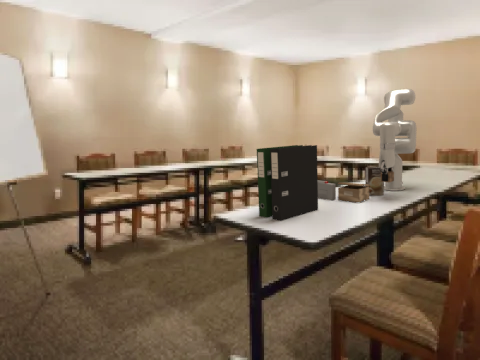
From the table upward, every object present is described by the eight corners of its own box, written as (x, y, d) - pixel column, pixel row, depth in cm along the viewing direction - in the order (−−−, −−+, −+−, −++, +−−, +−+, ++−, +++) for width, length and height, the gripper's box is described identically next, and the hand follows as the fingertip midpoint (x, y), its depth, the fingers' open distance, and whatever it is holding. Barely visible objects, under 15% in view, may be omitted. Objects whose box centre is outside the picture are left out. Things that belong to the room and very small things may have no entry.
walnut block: (384, 180, 196) (384, 171, 195) (393, 180, 192) (394, 171, 191) (380, 181, 192) (380, 172, 191) (389, 182, 189) (390, 173, 188)
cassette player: (335, 199, 198) (335, 182, 196) (332, 200, 196) (332, 182, 195) (315, 196, 211) (315, 179, 209) (312, 196, 209) (311, 180, 208)
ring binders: (297, 206, 186) (296, 145, 182) (320, 210, 175) (319, 145, 170) (259, 216, 169) (256, 148, 165) (281, 221, 158) (279, 149, 153)
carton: (349, 196, 204) (349, 184, 203) (369, 198, 195) (369, 186, 194) (338, 200, 196) (338, 187, 195) (358, 202, 187) (358, 189, 186)
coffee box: (367, 195, 204) (367, 168, 202) (364, 193, 210) (365, 166, 208) (384, 195, 203) (384, 167, 201) (381, 193, 209) (381, 166, 207)
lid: (348, 184, 203) (349, 182, 203) (369, 185, 194) (369, 184, 194) (338, 183, 195) (338, 182, 195) (359, 185, 186) (359, 183, 186)
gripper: (387, 144, 197) (387, 176, 200) (373, 148, 185) (373, 182, 189) (401, 144, 192) (400, 177, 195) (387, 148, 180) (387, 183, 184)
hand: (387, 179), depth 192 cm, fingers closed on walnut block, 5 cm apart
